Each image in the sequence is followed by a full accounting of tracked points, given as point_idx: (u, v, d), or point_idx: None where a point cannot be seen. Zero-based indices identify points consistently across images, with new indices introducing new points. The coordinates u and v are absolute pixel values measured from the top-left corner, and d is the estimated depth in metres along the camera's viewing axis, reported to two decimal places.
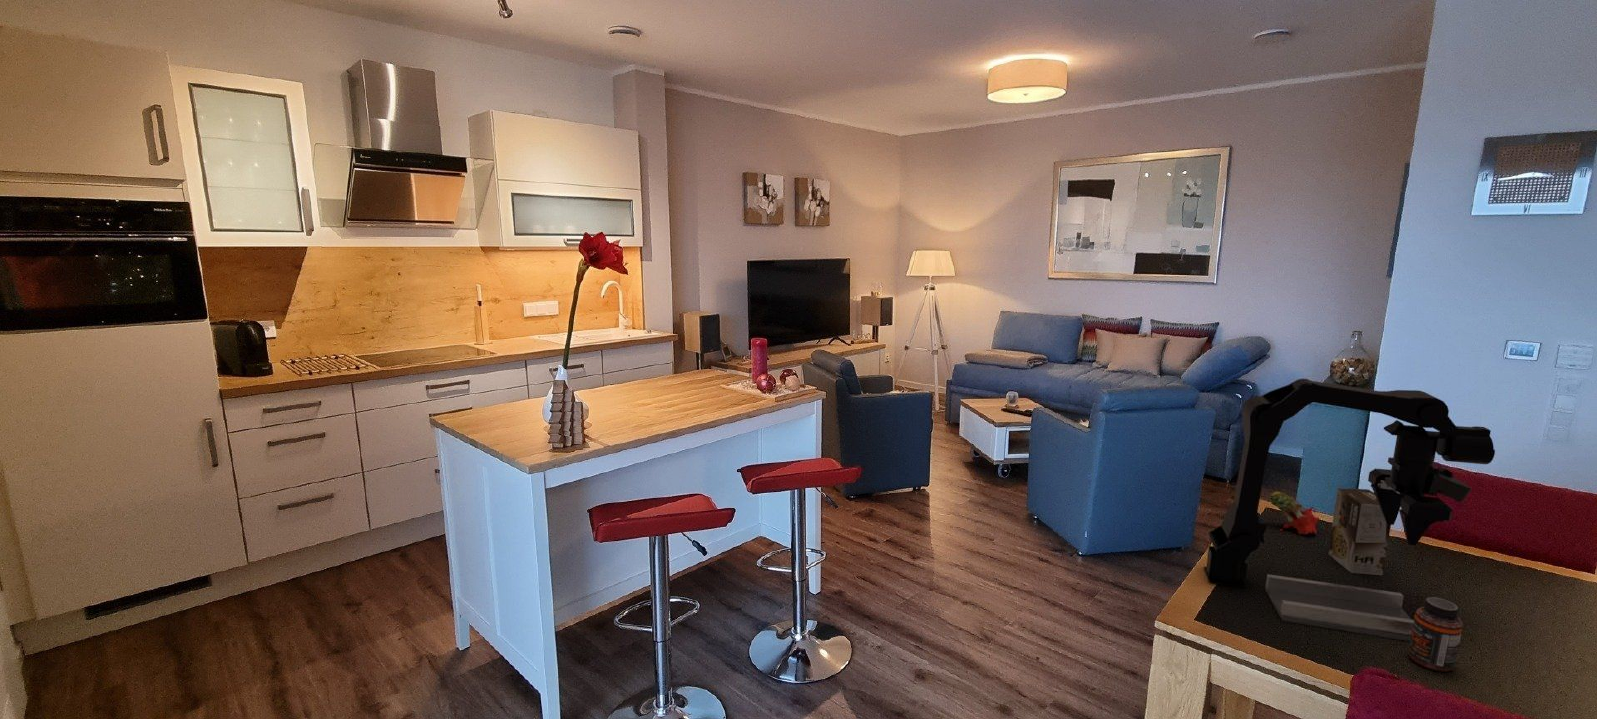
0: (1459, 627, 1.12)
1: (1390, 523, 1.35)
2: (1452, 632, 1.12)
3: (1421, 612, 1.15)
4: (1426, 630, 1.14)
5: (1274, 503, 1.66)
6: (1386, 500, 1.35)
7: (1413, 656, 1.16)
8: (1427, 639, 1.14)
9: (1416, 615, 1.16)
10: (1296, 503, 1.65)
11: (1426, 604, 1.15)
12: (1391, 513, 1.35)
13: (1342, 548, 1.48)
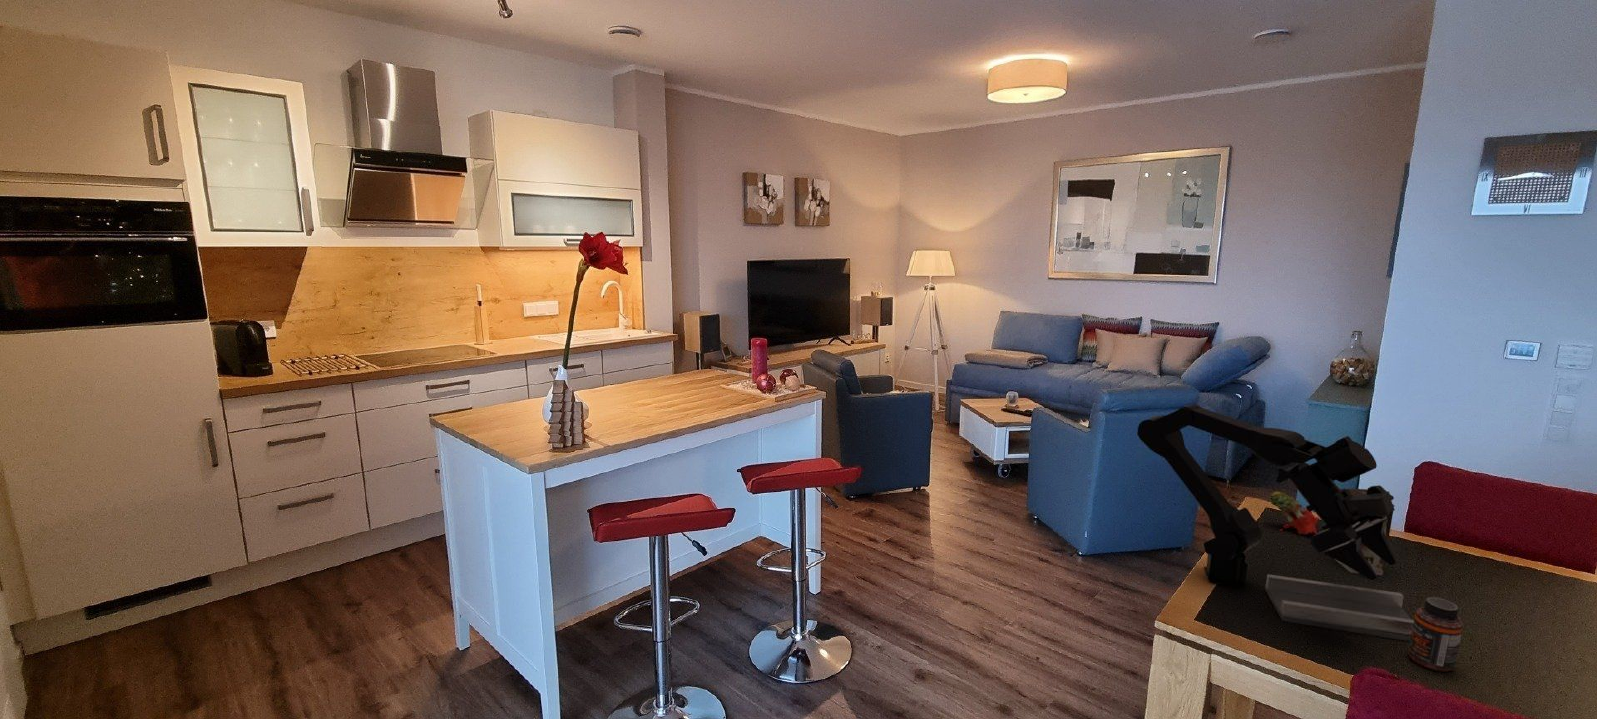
0: (1459, 627, 1.12)
1: (1392, 562, 1.23)
2: (1452, 632, 1.12)
3: (1421, 612, 1.15)
4: (1426, 630, 1.14)
5: (1274, 503, 1.66)
6: (1368, 540, 1.26)
7: (1413, 656, 1.16)
8: (1427, 639, 1.14)
9: (1416, 615, 1.16)
10: (1296, 503, 1.65)
11: (1426, 604, 1.15)
12: (1383, 552, 1.24)
13: None
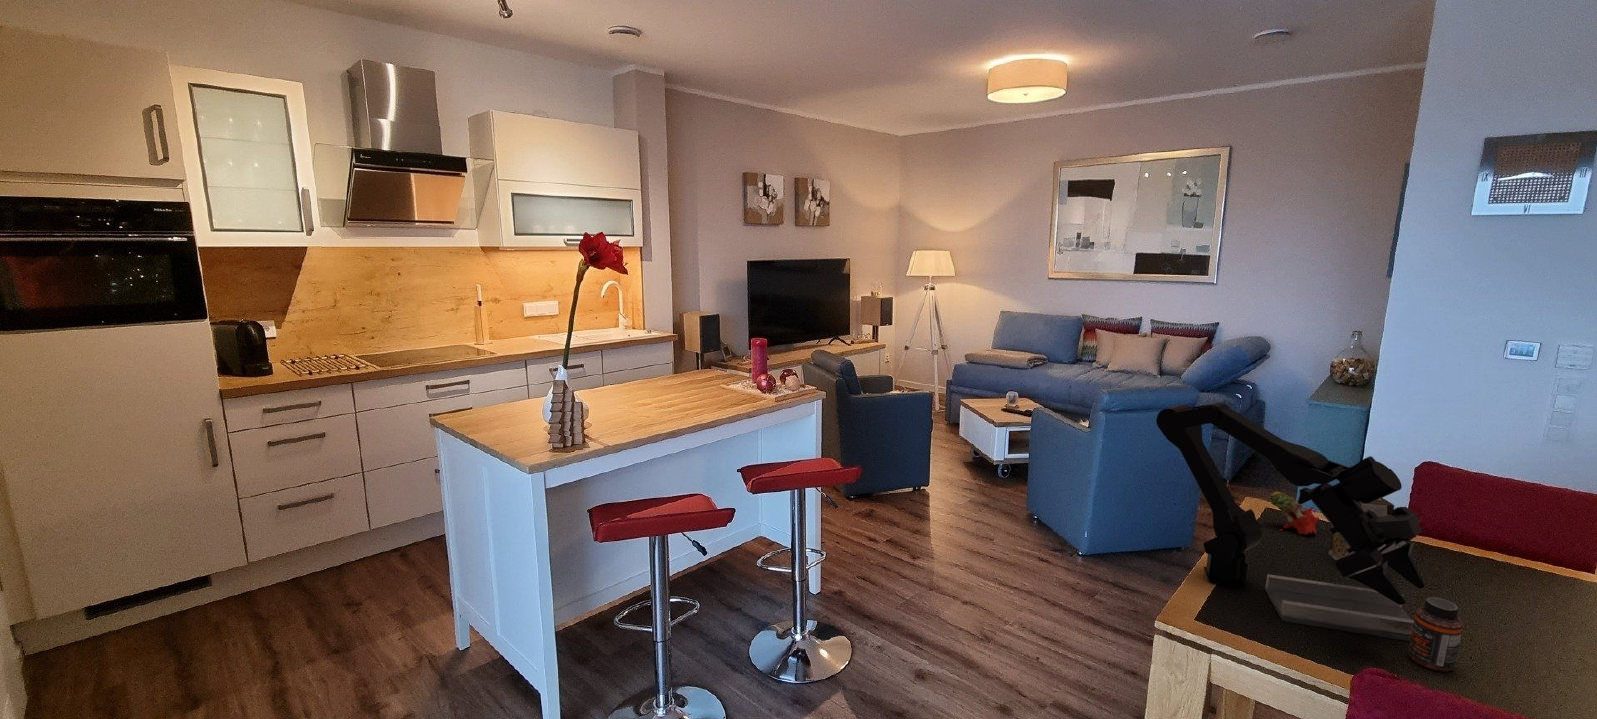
0: (1459, 627, 1.12)
1: (1420, 586, 1.20)
2: (1452, 632, 1.12)
3: (1420, 612, 1.15)
4: (1426, 630, 1.14)
5: (1274, 503, 1.66)
6: (1395, 563, 1.23)
7: (1413, 656, 1.16)
8: (1427, 639, 1.14)
9: (1416, 615, 1.16)
10: (1296, 503, 1.65)
11: (1426, 604, 1.15)
12: (1411, 575, 1.21)
13: (1342, 548, 1.48)
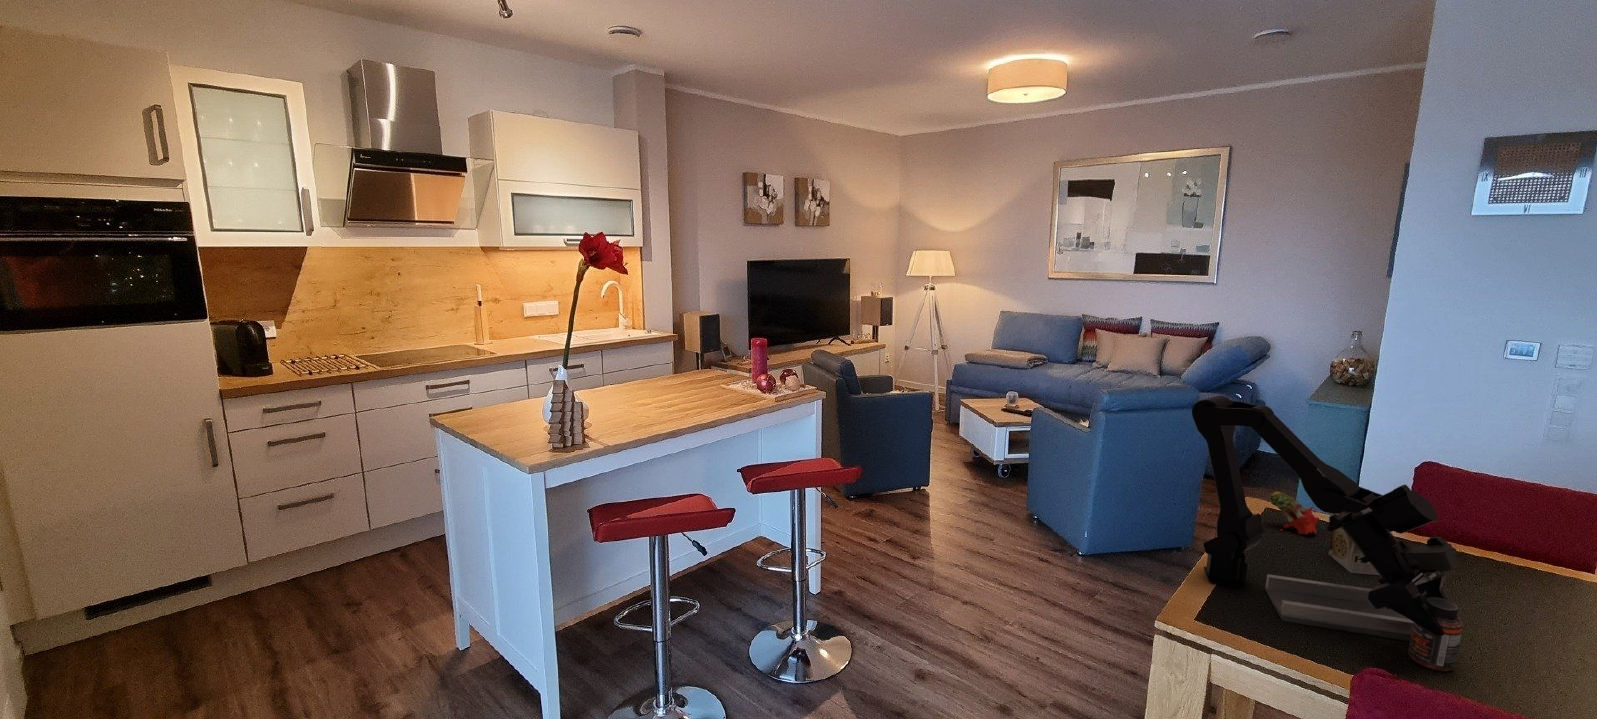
0: (1459, 627, 1.12)
1: None
2: (1452, 632, 1.12)
3: None
4: (1426, 630, 1.14)
5: (1274, 503, 1.66)
6: None
7: (1413, 656, 1.16)
8: (1427, 639, 1.14)
9: None
10: (1296, 503, 1.65)
11: (1426, 604, 1.15)
12: None
13: (1342, 548, 1.48)
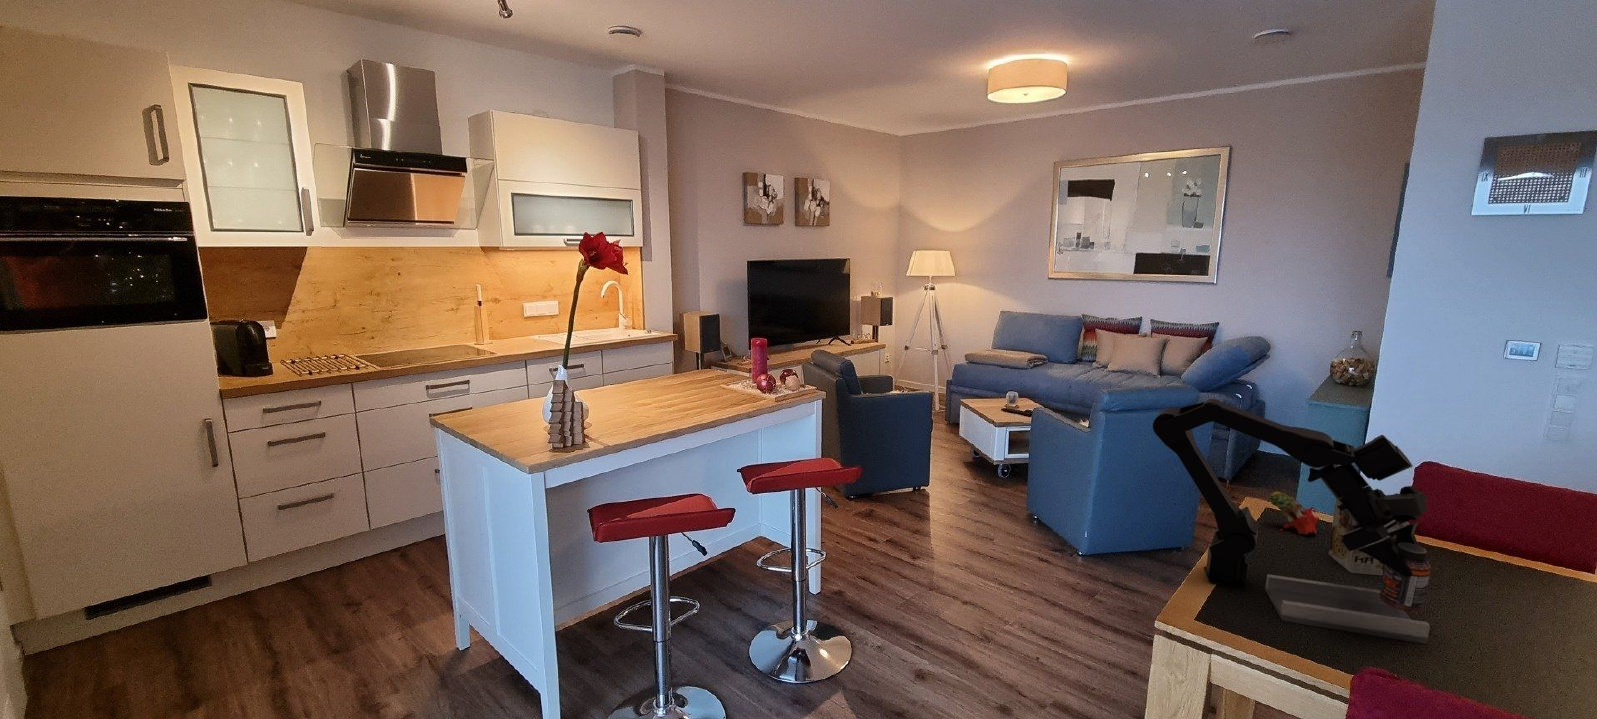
0: (1427, 569, 1.19)
1: None
2: (1420, 574, 1.19)
3: None
4: (1396, 572, 1.21)
5: (1274, 503, 1.66)
6: (1397, 543, 1.26)
7: (1384, 598, 1.24)
8: (1397, 581, 1.21)
9: None
10: (1296, 503, 1.65)
11: (1397, 548, 1.22)
12: None
13: (1342, 548, 1.48)
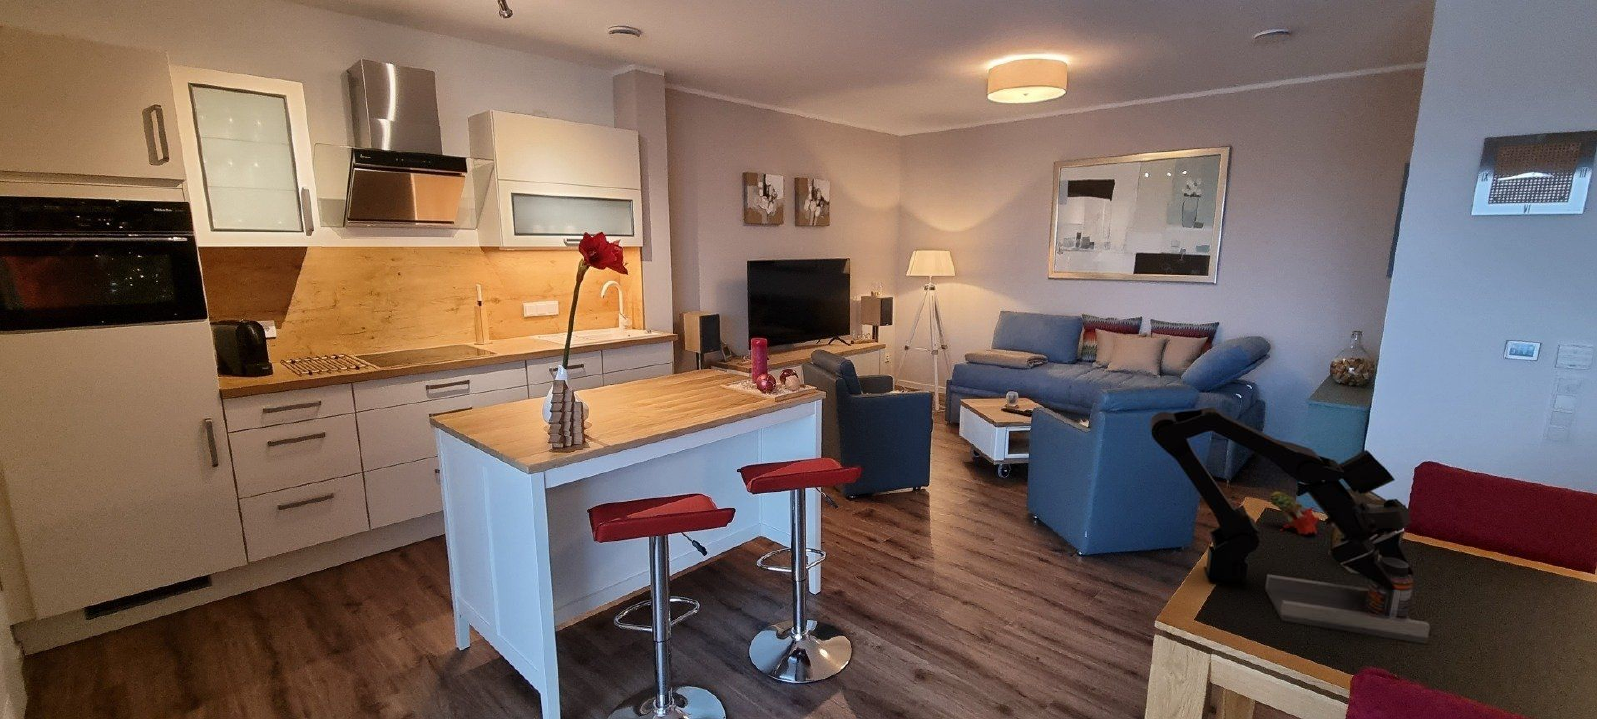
0: (1409, 583, 1.24)
1: (1409, 573, 1.28)
2: (1403, 587, 1.24)
3: None
4: (1380, 586, 1.26)
5: (1274, 503, 1.66)
6: (1385, 552, 1.31)
7: (1369, 611, 1.28)
8: (1381, 595, 1.26)
9: None
10: (1296, 503, 1.65)
11: (1380, 563, 1.27)
12: None
13: None
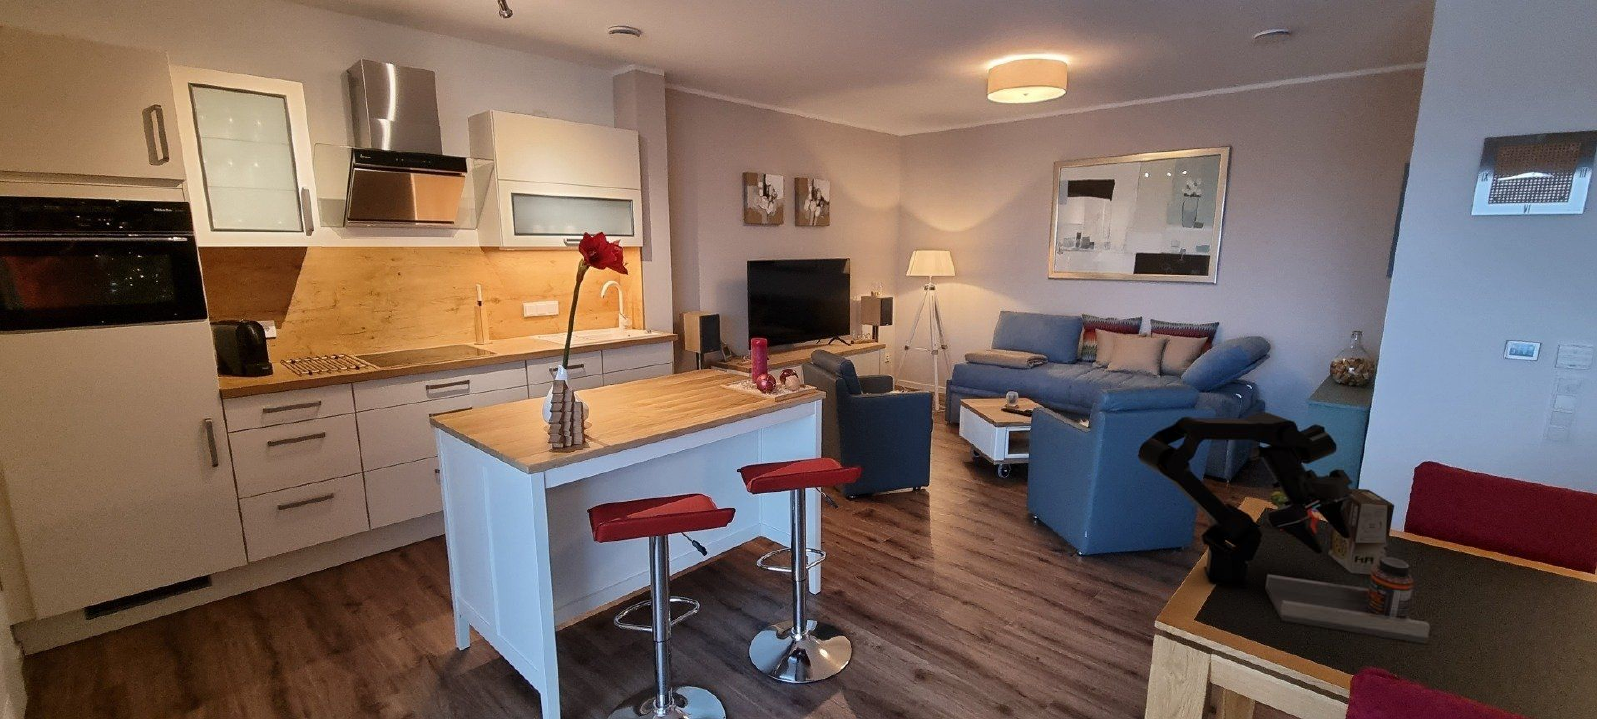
0: (1409, 583, 1.24)
1: (1346, 536, 1.36)
2: (1403, 587, 1.24)
3: (1376, 571, 1.27)
4: (1381, 586, 1.26)
5: (1274, 503, 1.66)
6: (1328, 515, 1.39)
7: (1369, 611, 1.28)
8: (1381, 595, 1.26)
9: (1372, 573, 1.28)
10: None
11: (1381, 563, 1.27)
12: (1340, 526, 1.37)
13: (1342, 548, 1.48)
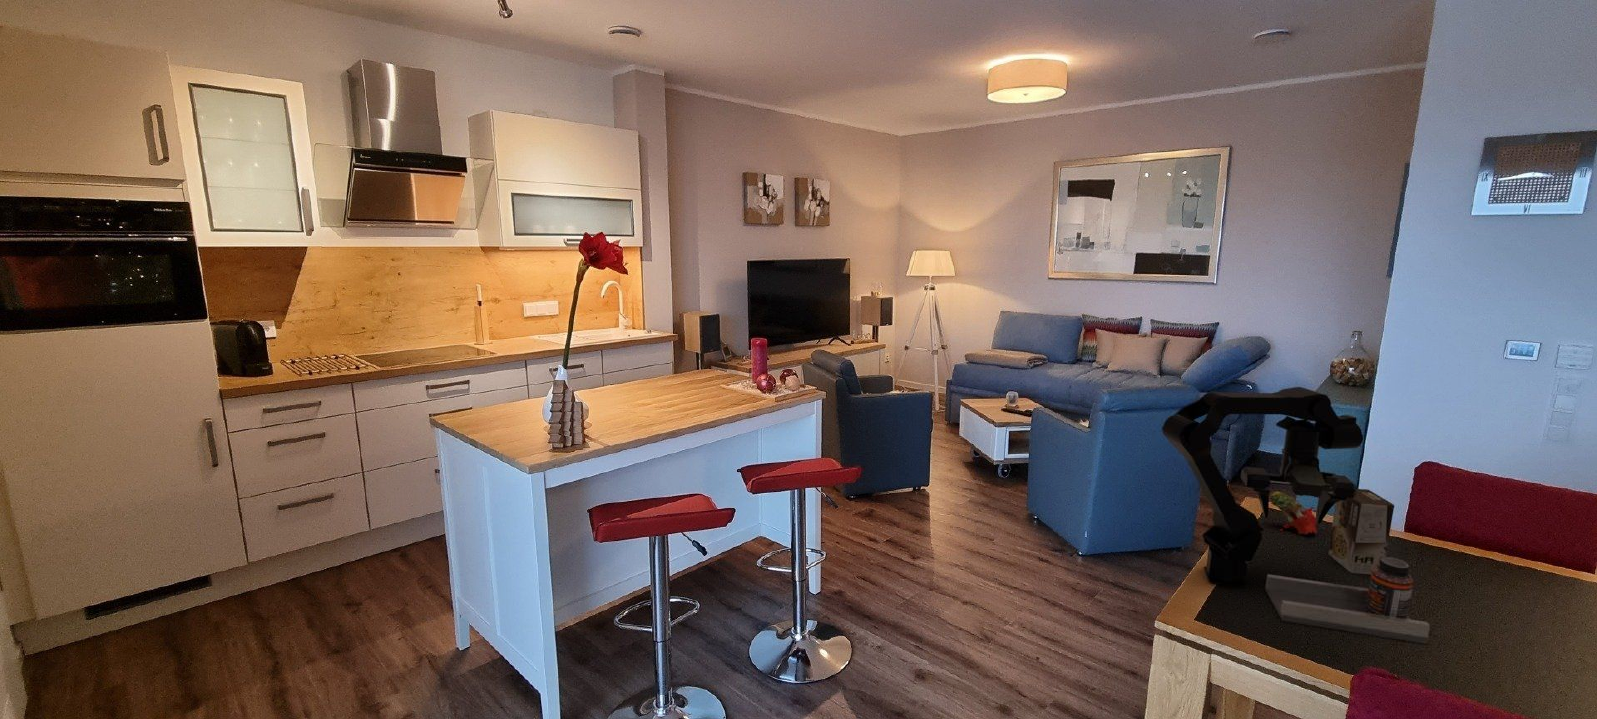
0: (1409, 583, 1.24)
1: (1316, 521, 1.40)
2: (1403, 587, 1.24)
3: (1376, 571, 1.27)
4: (1381, 586, 1.26)
5: (1274, 503, 1.66)
6: (1320, 499, 1.40)
7: (1369, 611, 1.28)
8: (1381, 595, 1.26)
9: (1372, 573, 1.28)
10: (1296, 503, 1.65)
11: (1381, 563, 1.27)
12: (1318, 512, 1.40)
13: (1342, 548, 1.48)
